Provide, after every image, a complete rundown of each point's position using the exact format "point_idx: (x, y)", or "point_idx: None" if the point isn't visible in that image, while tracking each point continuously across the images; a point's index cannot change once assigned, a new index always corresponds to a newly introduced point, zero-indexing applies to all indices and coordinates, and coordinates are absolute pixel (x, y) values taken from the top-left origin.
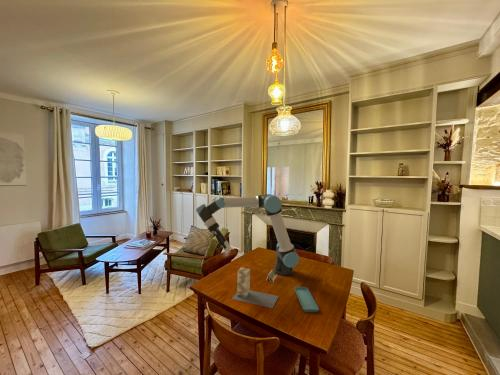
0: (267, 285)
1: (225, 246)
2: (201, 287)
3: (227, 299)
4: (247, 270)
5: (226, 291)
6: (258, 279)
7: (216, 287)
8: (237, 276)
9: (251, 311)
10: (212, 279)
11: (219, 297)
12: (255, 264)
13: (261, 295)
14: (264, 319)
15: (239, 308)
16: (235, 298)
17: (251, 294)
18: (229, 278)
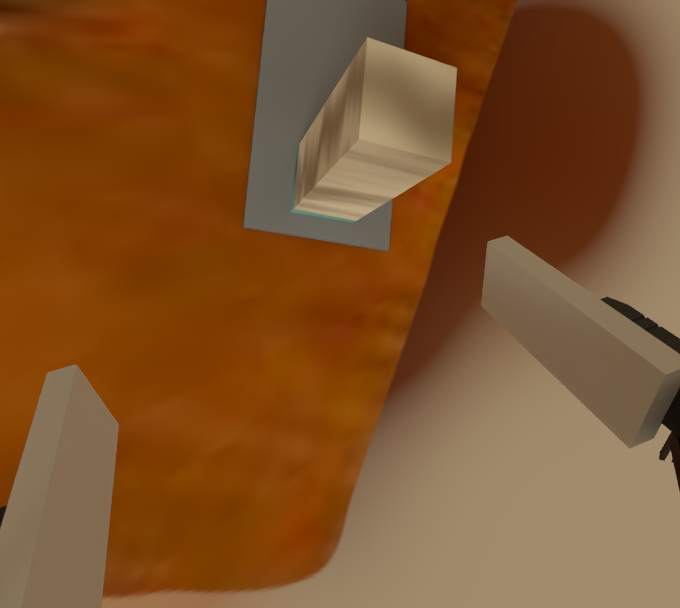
0: (118, 22)
1: (637, 318)
2: (311, 520)
3: (394, 274)
4: (410, 61)
5: (309, 317)
6: (12, 105)
7: (278, 413)
8: (420, 180)
9: (455, 115)
10: (152, 522)
11: (389, 331)
12: None
13: (298, 65)
14: (489, 48)
15: (450, 182)
16: (379, 227)
17: (305, 133)
18: None
